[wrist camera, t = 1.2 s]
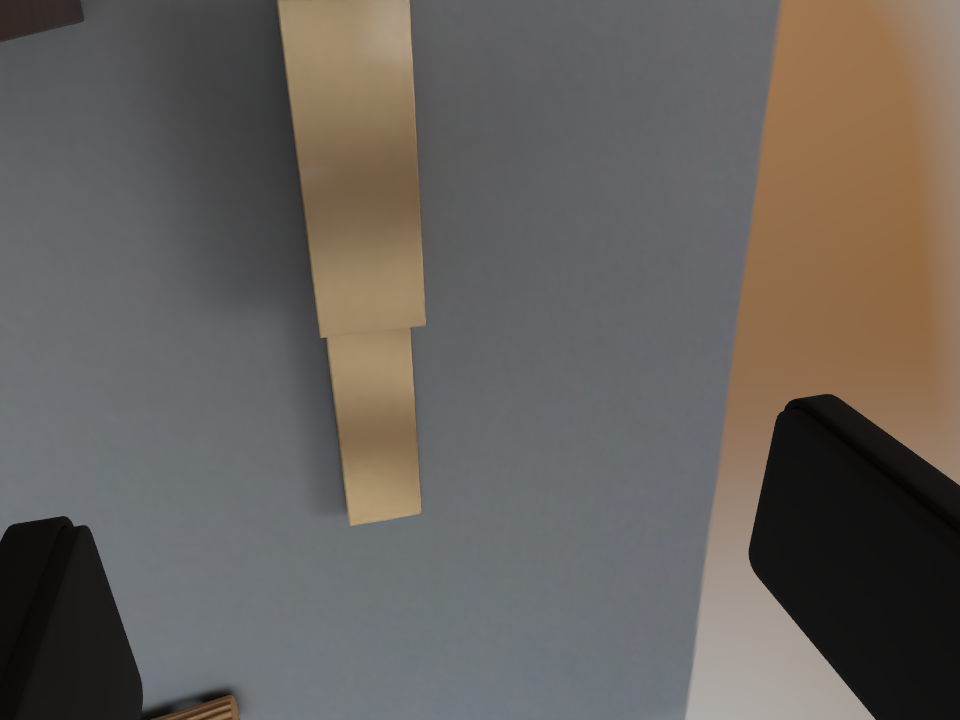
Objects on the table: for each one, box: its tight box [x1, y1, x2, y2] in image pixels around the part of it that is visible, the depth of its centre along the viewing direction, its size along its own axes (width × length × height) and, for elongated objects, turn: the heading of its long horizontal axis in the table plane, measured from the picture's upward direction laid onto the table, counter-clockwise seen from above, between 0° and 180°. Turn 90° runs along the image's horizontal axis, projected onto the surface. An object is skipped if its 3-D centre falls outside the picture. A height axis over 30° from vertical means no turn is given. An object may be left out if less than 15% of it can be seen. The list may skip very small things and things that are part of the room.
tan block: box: [276, 0, 426, 526], centre depth 23 cm, size 18×3×3 cm, turn 1°
